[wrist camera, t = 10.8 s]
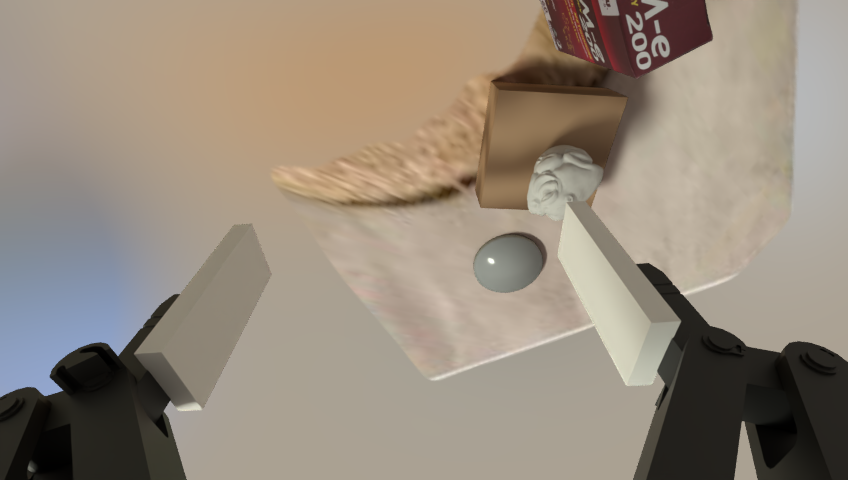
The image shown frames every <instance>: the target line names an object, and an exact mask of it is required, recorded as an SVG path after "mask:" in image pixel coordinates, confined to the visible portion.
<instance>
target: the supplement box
mask: <svg viewBox="0 0 848 480" xmlns="http://www.w3.org/2000/svg"><path fill="white" fill-rule="evenodd" d="M540 2H541V5H542V8H543V11H544V14H545V17H546V19H547V22H548V25H549V29H550V32H551V35H552V38H553V41H554V44H555V47H556V49H557V50H558V51H561V52H564V53H567V54H570V55H572V56H575V57H578V58H581V59H584V60H586V61H589V62H592V63H595V64H598V65H601V66H603V67H606V68H609V69H612V70H615V71H617V72H620V73H623V74H626V75H628V76H631V77H634V78H636V79H637V78H639V77H640V76H643V75H645V74H647V73H649V72H651V71H653V70H655V69H657V68H659V67H661V66H663V65H665V64H667V63H669V62H671V61H673V60H675V59H677V58H679V57H680V56H682V55H684V54H686V53H688V52H690V51H692V50H694V49H696V48H698V47H700V46H702V45H704V44H706V43H708V42H710V41H712V39H713V35H712V31H711V27H710V23H709V19H708V14H707V9H706V3H705V0H540Z"/></svg>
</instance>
